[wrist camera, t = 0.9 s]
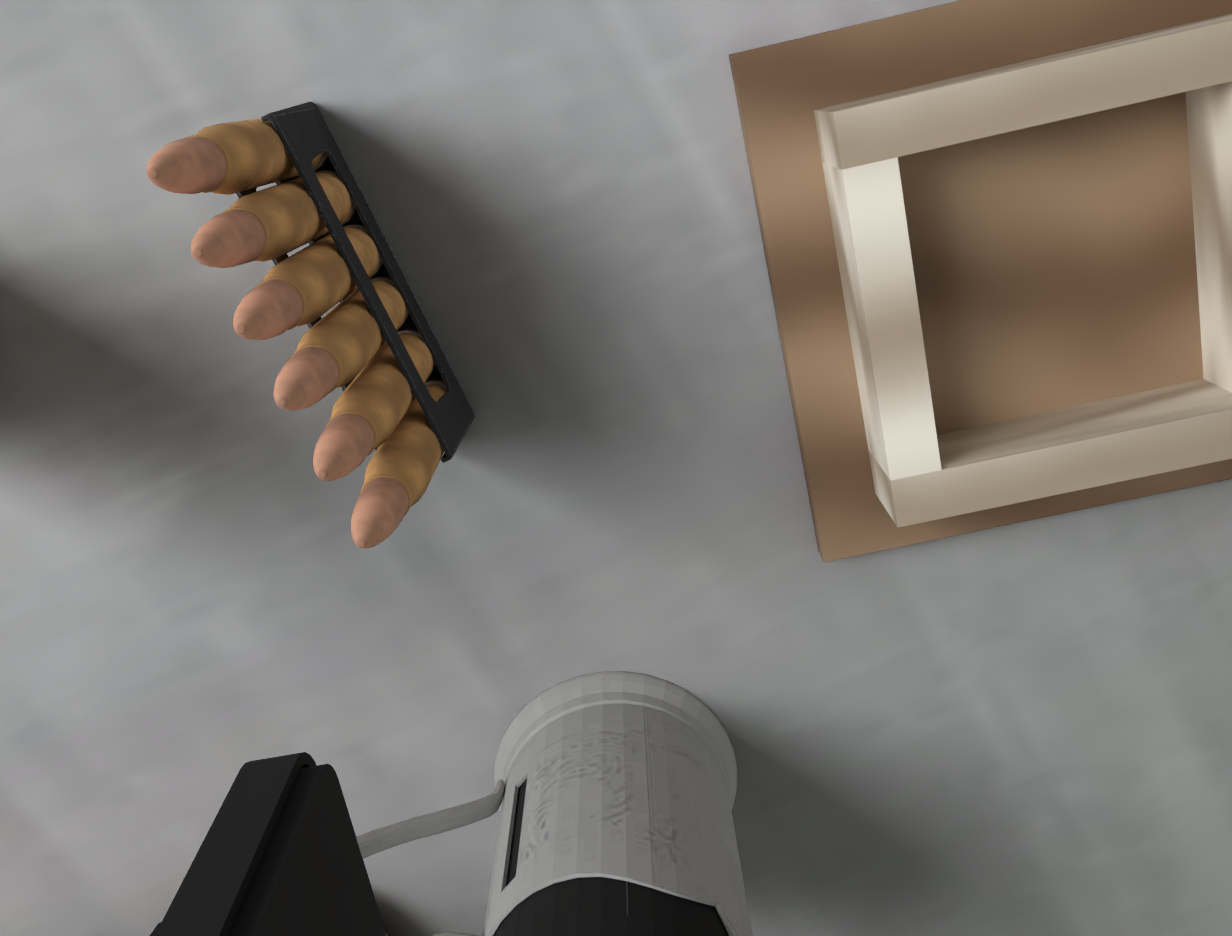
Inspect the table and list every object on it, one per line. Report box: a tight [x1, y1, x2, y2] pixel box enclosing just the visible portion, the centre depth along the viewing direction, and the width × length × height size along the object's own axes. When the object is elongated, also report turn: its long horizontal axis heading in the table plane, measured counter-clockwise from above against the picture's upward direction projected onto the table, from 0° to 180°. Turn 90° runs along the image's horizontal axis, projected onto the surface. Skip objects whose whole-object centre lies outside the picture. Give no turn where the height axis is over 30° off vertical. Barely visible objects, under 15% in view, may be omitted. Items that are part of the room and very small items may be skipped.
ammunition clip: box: [146, 102, 475, 549], centre depth 30 cm, size 11×2×12 cm, turn 24°
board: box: [729, 0, 1232, 562], centre depth 34 cm, size 16×16×4 cm
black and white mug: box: [356, 672, 753, 936], centre depth 34 cm, size 9×14×15 cm, turn 76°
